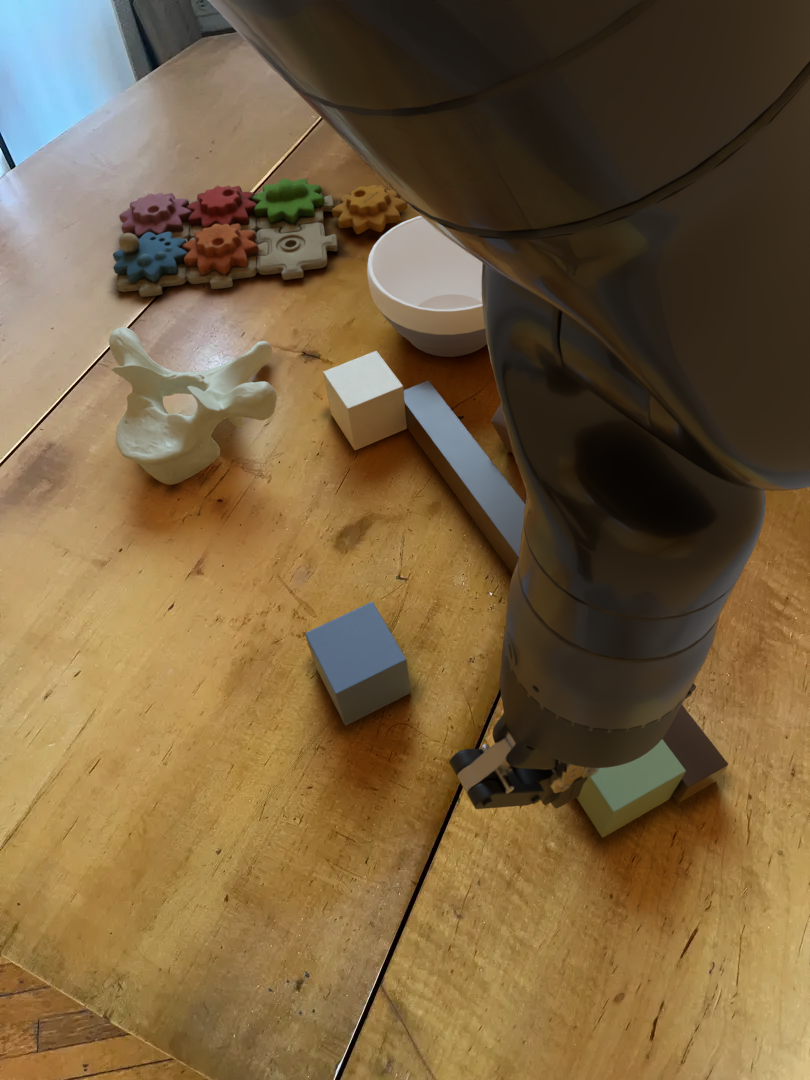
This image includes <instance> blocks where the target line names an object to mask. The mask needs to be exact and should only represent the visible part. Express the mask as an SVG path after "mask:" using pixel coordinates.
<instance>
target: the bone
mask: <svg viewBox="0 0 810 1080" xmlns="http://www.w3.org/2000/svg"><path fill="white" fill-rule="evenodd" d="M142 343H143V342H141V340H140V338H139V337H138V335H137V334H136V332H134V331H133V330H132V329H130V328H129V327H127V326H126V327H125V326H122V327H117V328H116V329H113V330H112V331H111V333H110V335H109V339H108V345H109V349H110V352H111V354H112V356H113V359H114V360H115V362H116V364H117V365H118V366H113V367H112V368H110V371H111V372H113V373H115V374H116V375H118V376H119V377H121V378H122V379H124V380H125V381H127V382H128V383H129V384H130V385H131V388H132V392H131V393H129V394H128V395H127V397H126V403H127V404H126V405H127V406H126V411H125V413H124V414H123V416H122V417H121V418H120V419H119V421H118V423H117V425H116V431H115V442H116V447H117V448H118V451H119V453H120V454H121V456H122V457H124V458H125V459H128V460H130V461H133V462H136V463H137V464H138V465H139V466H140V467H141V468H142V469H143V470H144V471H145V472H146V473H147V474H149V476H151V477H153V479H155V480H157V481H158V482H159V483H162V484H165V485H170V486H172V485H177V484H179V483H181V482H183V481H186V480H187V479H189V478H191V477H193V476H195V475H197V474H199V472H201V471H202V470H204V469H206V468H207V467H209V466H210V465H211V464H213V462H215V461H216V460H217V459H218V458H219V457H220V455H221V447H220V446H219V444H218V443H217V441H216V440H214V438H213V437H212V435H213V432H214V431H215V429H216V427H217V426H218V424H220V423H221V422H222V421H223V420H226V419H228V420H229V422H231V424H232V425H233V426H235V427H236V428H237V429H243V428H244V427H243V426H244V425H245V419H253V420H257V421H266V420H268V419H270V418H271V417H272V416H274V413H275V410H276V407H277V406H276V405H277V400H278V398H277V397H278V395H277V391H276V389H275V388H274V387H273V386H272V385H271V384H270V383H269V382H267V381H256V382H253V381H250V380H251V378H252V377H253V376H255V375H257V374H258V373H259V371H260V370H261V369H262V368H263V367H265V365H266V364H267V363H269V361H270V360H271V357H272V353H273V347H272V345H271V343H270V342H268V341H266V340H260V341H257V342H256V343H255V344H254V345H253V346H252V347H251V348H250V349H249V350H248V351H246V352H245V353H244V354H242V355H240V356H238V357H236V358H234V359H232V360H230V361H228V362H226V363H223V364H221V365H219V366H216V367H212V368H210V369H208V370H203V371H193V370H187V371H174V370H171V369H168V368H166V367H164V366H162V365H161V364H159V363H157V362H156V361H154V360H153V359H152V357H150V355H149V354H148V353H147V352H146V351H145V349H144V346H143V344H142ZM179 394H181V395H192V396H193V398H194V399H195V401H196V403H197V404H196V405H197V407H196V411H195V412H194V413H193V414H191V415H184V414H181V413H178V412H174V413H168V411H167V410H166V407H165V405H164V397H170V396H174V395H179Z"/></svg>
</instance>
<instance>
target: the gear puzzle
mask: <svg viewBox="0 0 810 1080" xmlns="http://www.w3.org/2000/svg"><path fill="white" fill-rule="evenodd" d="M322 192H323V189H322V186H321V185H319V184H313V183H312V184H311V183H309V182H308V180H307V179H306V178H300V179H295V180H294V181H292V180H291V179H289V178H282V179H280V180H279V181H278V182H277V183H275V184H274V183H272V184H271V183H269V184H264V185H263V186H262V190H260V191H258V192H257V194H256V193H255V192H253V191H243V190H242V187H241V186H240V185H236V186H230V185H225V186H220V185H216V186H214V188H210V189H206V190H205V191H204V192H200V193H197V195H196V199H195V200H193V202H191V201H190V200H188V199H187V198H176V196H175V195H174V193H172V192H168V193H165V194H164V193H162V192H159V193H155V194H154V193H148V194H146V195H145V196H143V197H138V198H137V199H136V200H133V201H131V202H129V207H128V208H127V209H126V210H124V211H123V212H122V213H120V214H119V216H118V218H119V220H120V222H121V223H123V224H122V225H121V231H122V235H120V237H119V240H118V243H119V247H120V249H118V250H116V251H114V252H113V253H112V258H113V260H114V261H115V264H114V266H113V267H112V268H113V271H114V273H115V274H116V280H115V285H116V287H117V290H118V291H119V292H123V293H126V292H134V291H138V293H139V295H140V297H141V298H147V297H155V296H160V295H163V289H162V288H166V287H174V286H182V285H184V284H186V283H187V282H188V283H189V284H192V285H196V284H205V283H206V284H207V283H209V284H210V288H211V289H212V290H218V289H227V288H232V287H233V286H234V283H233V282H234V281H233V280H238V279H245V278H253V277H255V276H256V275H257V273H259V275H262V276H268V275H276V274H280V275H281V278H282V280H284V281H287V280H295V279H303V278H304V276H305V273H304V271H308V270H318V269H323V268H325V267H327V265H328V254H327V253H328V252H338V239H337V235H336V234H335V233H332V234H329V235H326V231H325V230H326V229H325V226H324V223H325V219H324V212H327V213H329V212H330V213H331V215H332V217H334V218H337V219H338V220H337V225H338V228H340V229H345V228H353V231H354V233H355V234H356V235H360V234H362V233H364V232H365V231H367V230H369V229H371V230H373V231H375V232H377V233H378V232H379V233H380V232H383V231H384V230H385V228H386V224H396V223H400V222H401V219H402V218H401V214H400V213H402V212H404V211H406V210H407V209H408V203H407V202H406V201H404V200H403V199H402V198H401V197H400V196H399V195H398V194H397V193H396V192H395V191H394V190H393V189H386V187H384V185H382V184H378V185H376V184H372V185H370V186H365V185H361V186H358V187H357V188H355V189H354V190H353V189H352V190H351V191H350V193H347V194H343V195H340V196H339V202H340V203H339V204H337V205H336V206H334V199H333V196H332V195H331V194H329V195H325V196H323V195H322Z"/></svg>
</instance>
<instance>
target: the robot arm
mask: <svg viewBox="0 0 810 1080" xmlns="http://www.w3.org/2000/svg"><path fill="white" fill-rule="evenodd" d="M207 2H208V3H209V4H210V5H211V6H212V7H213V8H214V9H215V10H216V11H217V13H219V14H220V16H221V17H222V18H224V19H225V21H226V22H227V23H228V24H229V25H230V26H231V27H232V28H233V29H234V30H235V31H236V32H237V34H239V36H240V37H241V38H242V39H243V40H244V41H245V42H246V43H247V44H248V45H249V46H250V47H251V48H252V49H253V50H254V51H255V52H256V53H257V54H258V55H259V57H261V59H262V60H263V61H264V62H265V63H266V64H267V65H268V67H270V68H271V69H272V70H273V71H274V72H276V73H277V74H278V75H279V76H280V78H282V79H283V80H284V81H285V82H286V83H287V84H288V85H289V86H290V88H292V89H293V90H294V91H295V92H296V93H297V94H298V95H299V96H300V97H301V99H302V100H303V101H305V103H307V104H308V106H309V107H310V108H311V109H312V110H314V112H315V113H316V114H317V115H318V116H320V118H321V119H323V120H324V121H325V123H326V124H328V126H329V127H330V128H331V129H333V130H334V131H335V132H336V134H337V135H339V137H340V138H341V139H342V140H343V141H344V142H345V143H346V144H347V145H348V146H349V147H350V148H351V149H352V150H353V151H354V152H355V153H356V154H357V155H358V156H359V157H360V158H361V159H362V160H363V161H364V162H365V163H366V164H367V165H368V166H369V167H370V168H371V169H372V170H373V171H374V172H375V173H376V174H377V175H378V176H379V177H380V178H381V179H382V180H383V181H384V182H385V183H386V184H387V185H388V186H389V187H390V188H391V190H394V191H395V192H396V193H397V194H398V195H399V196H400V199H402V200H404V201H406V202H407V205H408V206H409V207H410V208H411V209H413V210H414V211H415V212H416V213H417V214H418V216H422V217H423V218H424V219H425V220H426V221H427V222H428V223H429V224H431V225H432V226H433V227H434V228H435V229H436V230H437V231H439V232H440V233H441V234H443V235H444V236H445V237H447V238H448V239H449V240H451V241H452V242H454V243H455V244H457V245H458V246H459V247H461V248H462V249H464V250H465V251H466V252H468V253H469V254H471V255H472V256H474V257H475V258H477V259H478V260H479V261H481V262H482V277H481V294H482V307H483V317H484V324H485V331H486V338H487V344H486V345H487V348H488V353H489V354H488V355H489V359H490V364H491V367H492V368H491V369H492V371H493V377H494V380H495V384H496V385H495V386H496V389H497V392H498V393H497V394H498V397H499V401H500V404H501V405H502V409H503V413H504V417H505V421H506V425H507V429H508V433H509V437H510V441H511V445H512V449H513V453H514V454H513V453H512V454H513V456H514V459H515V463H516V466H517V469H518V471H519V474H520V477H521V480H522V482H523V486H524V489H525V492H526V498H525V510H524V518H523V527H522V535H521V544H520V553H519V560H518V562H517V565H516V567H515V570H514V573H513V574H512V576H511V579H510V582H509V583H510V584H509V589H508V594H507V601H506V602H507V603H506V612H505V621H504V622H505V623H504V632H503V641H502V650H501V651H502V652H501V660H500V671H499V686H500V687H499V688H500V689H499V691H500V698H501V703H502V704H501V705H502V708H503V713H502V715H501V716H500V718H499V719H498V720H497V721H496V723H495V724H494V726H493V728H492V740H493V742H494V744H492V745H491V746H490V745H489V743H485V744H482V745H481V746H480V747H479V748H465V749H462V750H459V751H457V752H455V754H454V755H453V756H452V757H451V758H450V759H449V761H448V763H449V765H450V767H451V769H452V771H453V772H454V774H455V775H456V777H457V779H458V781H459V783H460V784H461V786H462V788H463V790H464V792H465V793H466V795H467V797H468V799H469V800H470V803H471V804H472V805H473V807H474V809H475V810H484V809H499V808H511V807H512V808H513V807H522V806H523V807H524V806H525V807H526V806H530V805H535V804H537V803H539V802H541V804H542V805H543V806H548V805H549V804H551V805H552V807H553V808H554V809H555V810H557V809H559V808H561V807H563V806H565V805H567V804H568V803H570V802H572V801H574V800H575V799H577V797H579V795H580V792H581V789H582V787H583V784H584V783H585V782H586V780H587V778H588V776H593V775H594V774H596V773H597V772H598V770H599V769H600V768H607V767H614V766H619V765H623V764H626V763H629V762H631V761H634V760H636V759H638V758H640V757H641V756H643V755H645V754H646V753H648V752H649V751H650V750H652V749H653V748H654V747H655V746H656V745H657V744H658V743H659V742H660V741H661V740H662V738H663V737H664V736H665V734H666V733H667V731H668V730H669V728H670V726H671V724H672V722H673V720H674V718H675V717H676V715H677V713H678V711H679V709H680V707H681V705H683V704H684V702H685V700H686V699H689V698H690V697H691V696H692V695H693V692H694V691H695V690H696V689H697V686H696V685H695V681H696V679H697V677H698V675H699V673H700V672H701V670H702V667H703V666H704V664H705V662H706V659H708V655H709V653H710V650H711V648H712V646H713V644H714V640H715V636H716V633H717V628H718V626H719V620H720V619H719V618H720V616H721V614H722V611H723V610H724V608H725V606H726V604H727V602H728V601H729V599H730V596H731V594H732V592H733V591H734V589H735V587H736V585H737V582H738V581H739V578H740V577H741V575H742V572H743V570H744V569H745V568H746V565H747V563H748V561H749V560H750V558H751V556H752V554H753V552H754V549H755V547H756V545H757V543H758V541H759V538H760V536H761V535H760V534H761V531H762V528H763V525H764V521H765V517H766V507H767V496H766V492H767V491H768V492H787V491H795V490H801V489H806V488H810V0H207Z"/></svg>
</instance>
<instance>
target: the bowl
mask: <svg viewBox="0 0 810 1080" xmlns="http://www.w3.org/2000/svg"><path fill="white" fill-rule="evenodd" d="M366 265H367V266H366V268H367V269H366V270H367V271H366V274H367V275H366V276H367V283H368V288H369V293H370V296H371V298H372V301H373V303H374V305H375V307H376V308H377V309H378V310H379V312H380V314H381V315H382V317H383V318H384V319H386V321H387V322H388V323H389V324H390V325H391V326H392V327H393V329H394V330H395V331H396V332H397V333H398V334H399V335H400V336H402V337H403V338H405V339H406V340H407V341H408V342H410V344H411V345H412V346H414V347H415V348H416V349H418V350H419V351H422V352H423V353H426V354H428V355H431V356H435V357H436V356H437V357H443V358H455V357H462V356H466V355H470V354H472V353H474V352H477V351H480V350H481V349H482V348H484V347H486V346H487V345H488V344H487V338H486V331H485V324H484V317H483V307H482V294H481V277H482V262H481V261H479V260H478V259H477V258H475V257H474V256H472V255H471V254H469V253H468V252H466V251H465V250H464V249H462V248H461V247H459V246H458V245H457V244H455V243H454V242H452V241H451V240H449V239H448V238H447V237H445V236H444V235H443V234H441V233H440V232H439V231H437V230H436V229H435V228H434V227H433V226H432V225H431V224H429V223H428V222H427V221H426V220H425V219H424V218H423V217H422V216H421V215H418V216H415V217H413V218H409V219H407V220H404V221H402V222H401V223H400V222H399V223H398V224H397V225H395V226H393V227H391V228H390V229H389V230H387V231H386V232H385V233H384V234H383V235H381V236H380V237H379V238H378V240H377V241H376V242H374V244H373V245H372V249H371V250H370V252H369V254H368V259H367V264H366Z"/></svg>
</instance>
